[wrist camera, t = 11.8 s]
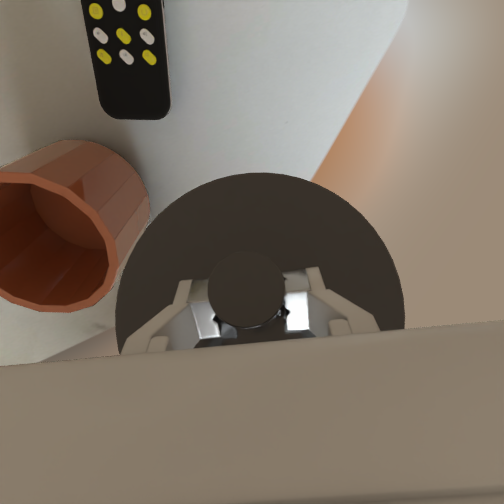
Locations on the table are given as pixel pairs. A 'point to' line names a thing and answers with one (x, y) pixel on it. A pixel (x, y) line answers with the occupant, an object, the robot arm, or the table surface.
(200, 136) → the table surface
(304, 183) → the jar lid
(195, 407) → the robot arm
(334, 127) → the table surface
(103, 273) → the jar
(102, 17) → the remote control
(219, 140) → the table surface
